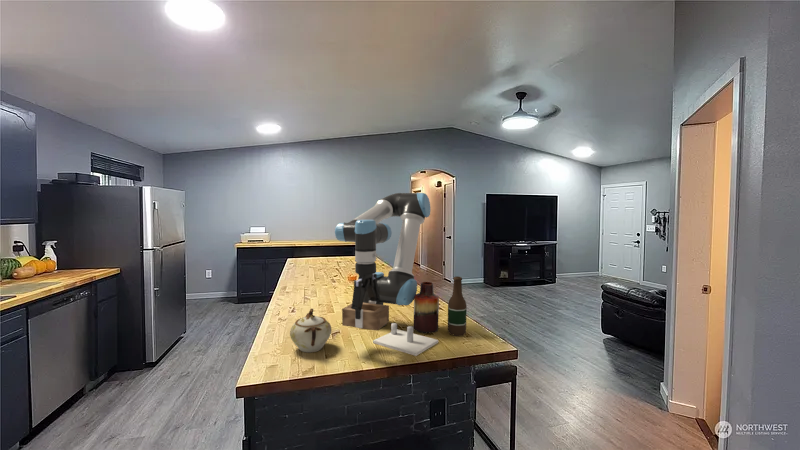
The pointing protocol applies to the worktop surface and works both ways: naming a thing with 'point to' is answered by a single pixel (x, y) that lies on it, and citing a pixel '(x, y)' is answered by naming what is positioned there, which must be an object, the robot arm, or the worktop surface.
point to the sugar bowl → (310, 332)
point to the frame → (367, 316)
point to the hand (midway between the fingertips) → (366, 322)
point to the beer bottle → (457, 310)
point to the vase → (426, 309)
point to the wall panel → (405, 341)
